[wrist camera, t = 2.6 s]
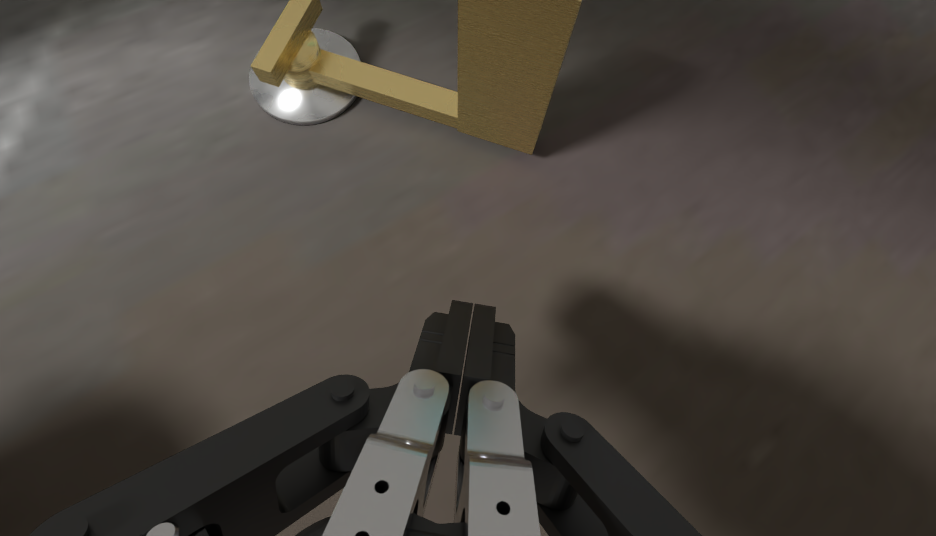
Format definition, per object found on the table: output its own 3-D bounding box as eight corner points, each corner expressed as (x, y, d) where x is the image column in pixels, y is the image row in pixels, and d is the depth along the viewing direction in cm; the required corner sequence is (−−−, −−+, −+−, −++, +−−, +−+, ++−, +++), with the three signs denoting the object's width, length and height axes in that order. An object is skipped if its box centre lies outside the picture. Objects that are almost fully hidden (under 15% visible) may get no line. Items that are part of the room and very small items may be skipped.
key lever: (262, 100, 23) (138, -86, 14) (303, 28, 24) (214, -185, 15) (521, 185, 22) (566, 43, 13) (549, 104, 23) (607, -74, 14)
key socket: (229, 88, 23) (225, 83, 23) (301, 16, 25) (298, 10, 25) (315, 145, 23) (312, 140, 22) (385, 67, 24) (383, 61, 24)
